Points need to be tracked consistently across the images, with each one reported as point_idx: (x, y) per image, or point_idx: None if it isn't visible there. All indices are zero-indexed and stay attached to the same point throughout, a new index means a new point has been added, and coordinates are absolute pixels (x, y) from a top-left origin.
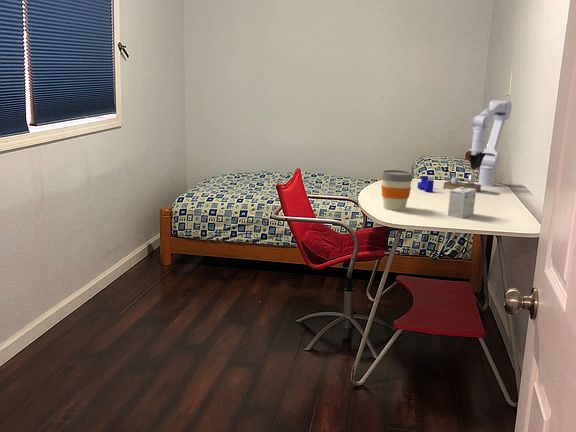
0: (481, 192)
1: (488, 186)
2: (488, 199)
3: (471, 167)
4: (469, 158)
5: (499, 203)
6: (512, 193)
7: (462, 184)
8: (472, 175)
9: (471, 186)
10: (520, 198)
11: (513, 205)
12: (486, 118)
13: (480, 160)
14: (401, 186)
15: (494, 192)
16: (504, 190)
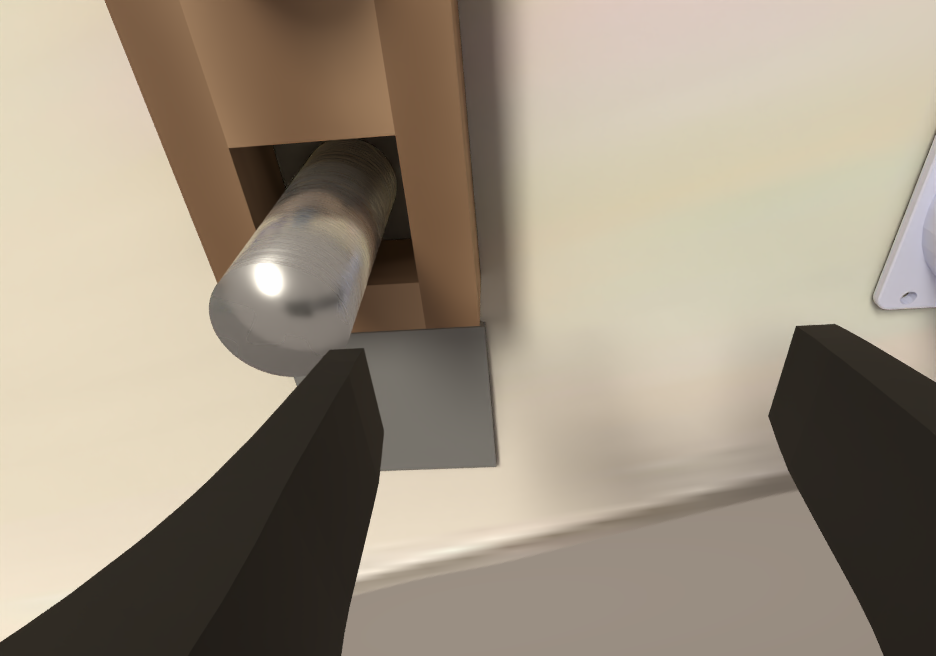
0: None
1: (883, 270)
2: (86, 457)
3: (310, 382)
4: (22, 628)
5: (39, 538)
6: (593, 514)
7: (219, 102)
8: (231, 346)
9: (214, 272)
10: (402, 582)
11: None
12: None
13: (897, 617)
14: None
15: (465, 422)
16: (724, 441)
